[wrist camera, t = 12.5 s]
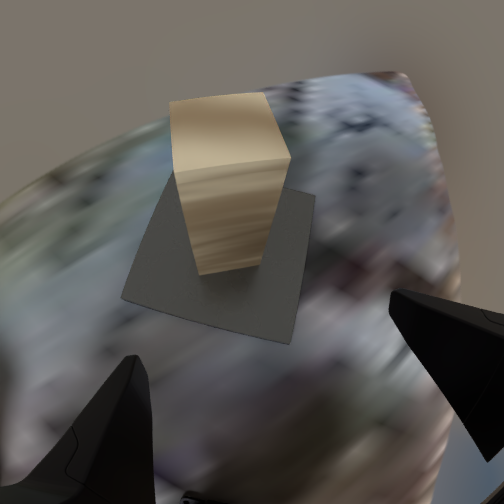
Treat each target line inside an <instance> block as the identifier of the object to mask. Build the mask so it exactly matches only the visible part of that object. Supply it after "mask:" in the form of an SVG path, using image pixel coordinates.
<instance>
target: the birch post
mask: <svg viewBox="0 0 504 504" xmlns="http://www.w3.org/2000/svg"><path fill="white" fill-rule="evenodd" d="M170 124H171V140H172V154H173V166H174V175H175V179H176V184H177V188H178V193H179V197H180V202H181V206H182V210H183V214H184V218H185V223H186V227H187V231H188V235H189V239H190V243H191V247H192V251H193V254H194V258H195V262H196V266H197V270H198V273H199V276H200V275H205V274H211V273H217V272H222V271H228V270H233V269H239V268H244V267H250V266H255V265H260V262H261V259H262V256H263V252H264V249H265V245H266V242H267V239H268V235H269V232H270V229H271V225H272V222H273V218H274V215H275V212H276V208H277V205H278V201H279V198H280V194H281V191H282V188H283V184H284V181H285V177H286V174H287V170H288V167H289V163H290V160H291V156H290V154H289V151H288V149H287V146H286V144H285V142H284V139H283V137H282V134H281V132H280V130H279V127H278V125H277V123H276V120H275V118H274V116H273V113H272V111H271V109H270V107H269V104H268V102H267V100H266V98H265V96H264V93H263V92H261V93H243V94H231V95H220V96H211V97H203V98H194V99H187V100H181V101H174V102H170Z"/></svg>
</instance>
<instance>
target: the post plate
mask: <svg viewBox="0 0 504 504" xmlns="http://www.w3.org/2000/svg"><path fill="white" fill-rule="evenodd" d="M314 201H315V196H314V195H310V194H306V193H303V192H299V191H295V190H291V189H287V188H282V191H281V194H280V198H279V201H278V205H277V208H276V212H275V215H274V218H273V222H272V225H271V229H270V232H269V235H268V239H267V242H266V245H265V249H264V252H263V256H262V259H261V262H260V265H255V266H250V267H244V268H239V269H233V270H228V271H222V272H217V273H211V274H205V275H200V276H199V273H198V270H197V266H196V262H195V258H194V254H193V251H192V247H191V243H190V239H189V235H188V231H187V227H186V223H185V218H184V214H183V210H182V206H181V202H180V197H179V193H178V188H177V184H176V179H175V175H174V170H173V172H172V174H171V176H170V178H169V180H168V182H167V184H166V186H165V189H164V191H163V193H162V195H161V197H160V199H159V202H158V204H157V206H156V208H155V211H154V213H153V215H152V217H151V220H150V222H149V224H148V227H147V229H146V232H145V234H144V236H143V239H142V241H141V244H140V246H139V249H138V251H137V254H136V257H135V259H134V262H133V264H132V267H131V270H130V272H129V275H128V278H127V281H126V284H125V286H124V289H123V292H122V295H121V299H123V300H125V301H128V302H131V303H134V304H137V305H140V306H143V307H147V308H150V309H153V310H156V311H159V312H163V313H166V314H169V315H173V316H176V317H179V318H183V319H186V320H190V321H193V322H197V323H201V324H204V325H208V326H212V327H216V328H219V329H223V330H227V331H231V332H235V333H239V334H243V335H248V336H252V337H256V338H261V339H265V340H269V341H274V342H279V343H283V344H288V345H289V344H290V342H291V337H292V332H293V327H294V322H295V317H296V312H297V306H298V301H299V296H300V290H301V285H302V279H303V273H304V267H305V261H306V255H307V249H308V242H309V236H310V229H311V223H312V216H313V208H314Z"/></svg>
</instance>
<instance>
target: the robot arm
mask: <svg viewBox="0 0 504 504" xmlns="http://www.w3.org/2000/svg"><path fill="white" fill-rule="evenodd" d="M389 314H390V317H391V318H392V320H393V321H394V323H395V325H396V326H397V328H398V329H399V331H400V333H401V334H402V336H403V338H404V339H405V341H406V343H407V344H408V346H409V347H410V349H411V350H412V351H413V353H414V354H415V355H416V357H417V358H418V359H419V361H420V362H421V363H422V365H423V366H424V368H425V369H426V370H427V372H428V373H429V374H430V376H431V377H432V379H433V380H434V382H435V383H436V384H437V386H438V387H439V389H440V390H441V392H442V393H443V394H444V396H445V397H446V399H447V400H448V402H449V403H450V405H451V406H452V408H453V409H454V411H455V412H456V414H457V415H458V417H459V418H460V420H461V421H462V423H463V425H464V426H465V428H466V429H467V431H468V433H469V434H470V436H471V437H472V439H473V440H474V442H475V444H476V445H477V447H478V449H479V450H480V452H481V454H482V455H483V457H484V459H485V460H486V462H489V461H490V460H491V459H492V458H493V457H494V456H495V455H496V454H497V453H498V452H499V451H500V450H501V449H502V448H503V447H504V314H501V313H496V312H492V311H488V310H484V309H479V308H476V307H473V306H469V305H465V304H461V303H457V302H453V301H450V300H446V299H442V298H438V297H434V296H430V295H426V294H422V293H419V292H415V291H411V290H407V289H403V288H399V289H396V290H394V291H392V292H391V295H390V303H389ZM185 500H187V501H189V503H185V502H184V501H185ZM0 504H156V501H155V488H154V471H153V439H152V410H151V402H150V392H149V381H148V375H147V372H146V370H145V368H144V366H143V364H142V362H141V360H140V358H139V356H138V355H130V356H126V357H125V358H124V359H123V360H122V361H121V363H120V364H119V365H118V366H117V367H116V369H115V370H114V371H113V372H112V374H111V375H110V376H109V377H108V379H107V380H106V381H105V382H104V384H103V385H102V386H101V387H100V389H99V390H98V391H97V393H96V394H95V395H94V396H93V398H92V399H91V400H90V401H89V403H88V404H87V405H86V407H85V408H84V409H83V410H82V412H81V413H80V414H79V416H78V417H77V418H76V419H75V421H74V422H73V423H72V426H70V427H69V428H68V430H67V431H66V432H65V434H64V435H63V436H62V437H61V439H60V440H59V441H58V442H57V444H56V445H55V446H54V447H53V448H52V449H51V451H50V452H49V453H48V454H47V455H46V456H45V457H44V458H43V459H42V460H41V462H40V463H39V464H38V465H37V466H36V467H35V468H34V469H33V470H32V471H31V472H30V473H29V475H28V476H27V477H26V478H24V479H23V480H22V481H20V482H18V483H16V484H13V485H9V486H3V487H0ZM180 504H226V503H221V502H216V501H211V500H207V501H204V500H200V499H196V498H192V497H188V496H184V497H182V498H181V500H180ZM481 504H504V482H503V483H502V484H501V485H500V486H499V487H498V488H497V489H496V490H495V491H494V492H493V493H491V495H489V496H488V497H487V498H486V499H485V500H484V501H483V502H482V503H481Z"/></svg>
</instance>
